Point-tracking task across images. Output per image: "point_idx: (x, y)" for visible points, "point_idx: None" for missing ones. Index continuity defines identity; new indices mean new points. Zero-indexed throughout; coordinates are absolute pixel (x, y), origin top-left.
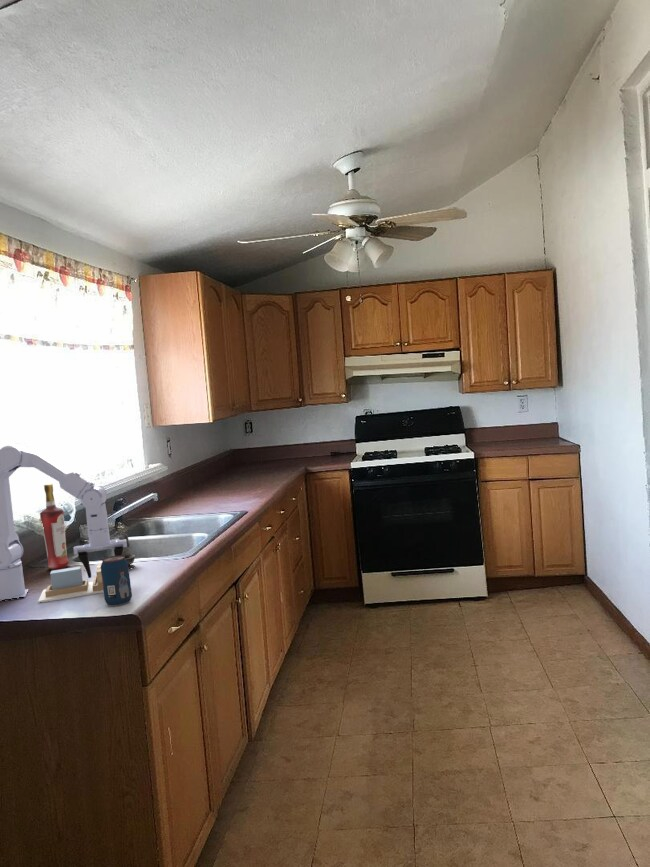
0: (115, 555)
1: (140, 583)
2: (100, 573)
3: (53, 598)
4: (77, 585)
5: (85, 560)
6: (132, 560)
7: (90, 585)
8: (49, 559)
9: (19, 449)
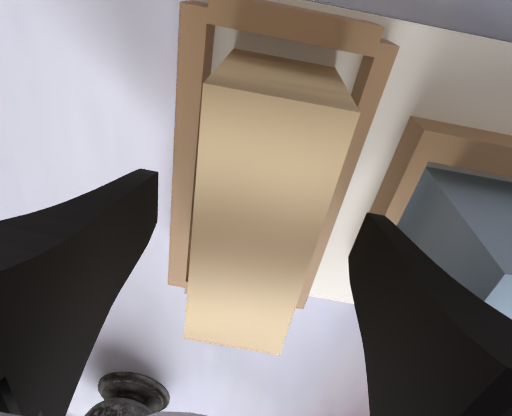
0: (31, 248)
1: (20, 50)
2: (311, 98)
3: None
4: (471, 191)
5: (487, 331)
6: (89, 411)
7: (347, 228)
8: None
9: None
